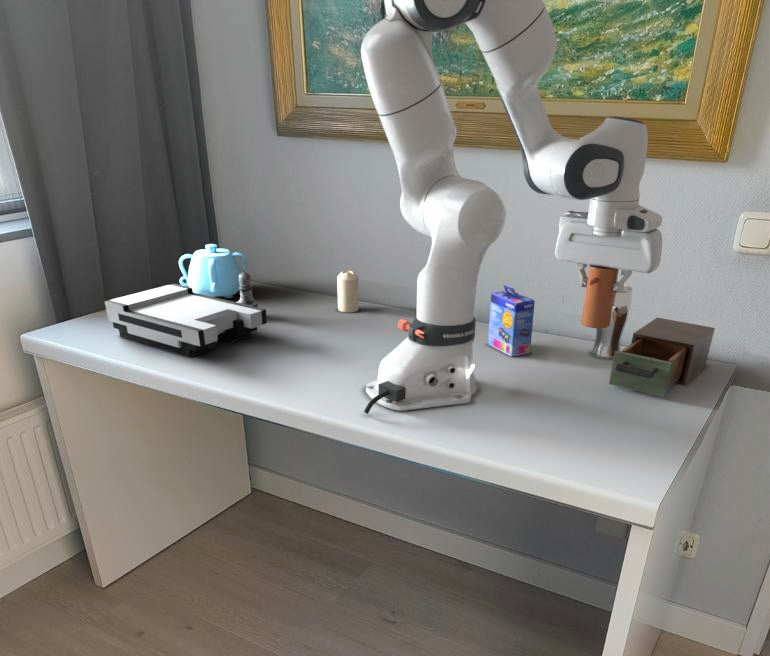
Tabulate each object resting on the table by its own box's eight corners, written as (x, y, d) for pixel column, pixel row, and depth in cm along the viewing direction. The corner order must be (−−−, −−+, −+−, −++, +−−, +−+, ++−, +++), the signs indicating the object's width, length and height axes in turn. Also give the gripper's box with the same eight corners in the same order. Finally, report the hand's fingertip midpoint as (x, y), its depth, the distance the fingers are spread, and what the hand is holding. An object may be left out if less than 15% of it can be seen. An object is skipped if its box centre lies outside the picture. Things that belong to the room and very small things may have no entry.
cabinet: (684, 385, 146) (694, 345, 141) (625, 371, 152) (633, 333, 148) (705, 365, 156) (714, 327, 151) (649, 354, 162) (657, 317, 158)
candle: (358, 312, 189) (357, 274, 184) (337, 312, 189) (336, 273, 184) (359, 306, 194) (358, 269, 188) (338, 306, 194) (337, 268, 188)
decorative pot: (257, 294, 204) (253, 244, 197) (211, 305, 194) (205, 253, 187) (222, 284, 214) (216, 236, 207) (176, 294, 203) (169, 244, 196)
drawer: (656, 403, 135) (664, 370, 132) (600, 390, 141) (606, 357, 138) (685, 377, 147) (693, 345, 144) (633, 365, 153) (639, 335, 149)
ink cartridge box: (485, 344, 167) (490, 281, 159) (505, 341, 169) (510, 279, 162) (510, 357, 160) (517, 292, 152) (530, 353, 162) (538, 289, 154)
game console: (202, 362, 156) (197, 325, 152) (111, 335, 172) (104, 301, 167) (268, 338, 170) (265, 304, 166) (178, 315, 186) (174, 283, 182)
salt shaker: (248, 312, 189) (243, 265, 183) (264, 315, 186) (260, 268, 180) (232, 317, 185) (226, 269, 179) (248, 321, 182) (243, 273, 176)
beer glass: (622, 360, 158) (635, 292, 150) (590, 358, 159) (601, 290, 151) (620, 350, 164) (632, 284, 156) (589, 348, 165) (599, 282, 157)
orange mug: (588, 318, 148) (596, 261, 142) (614, 323, 145) (623, 264, 139) (569, 329, 142) (577, 269, 136) (596, 334, 140) (605, 273, 133)
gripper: (553, 211, 137) (545, 284, 145) (659, 223, 127) (645, 301, 134) (568, 207, 141) (559, 278, 149) (671, 217, 131) (656, 293, 138)
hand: (600, 289), depth 141 cm, fingers closed on orange mug, 5 cm apart
